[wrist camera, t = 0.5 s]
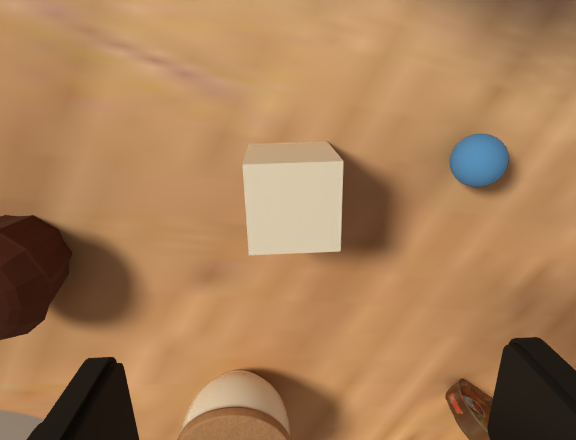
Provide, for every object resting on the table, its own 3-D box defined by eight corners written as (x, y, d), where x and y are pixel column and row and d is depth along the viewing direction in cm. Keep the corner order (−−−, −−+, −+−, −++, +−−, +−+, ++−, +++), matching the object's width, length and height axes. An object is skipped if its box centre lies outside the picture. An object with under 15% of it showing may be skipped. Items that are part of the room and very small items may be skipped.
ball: (444, 130, 37) (469, 139, 32) (494, 129, 37) (526, 137, 32) (438, 179, 38) (461, 194, 34) (485, 178, 39) (514, 192, 34)
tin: (520, 417, 52) (564, 478, 44) (503, 430, 53) (543, 492, 45) (448, 368, 48) (483, 425, 40) (431, 383, 49) (461, 442, 41)
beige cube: (249, 143, 36) (242, 164, 28) (327, 141, 37) (343, 161, 28) (253, 217, 39) (249, 255, 31) (326, 214, 39) (340, 251, 31)
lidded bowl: (170, 392, 48) (142, 480, 37) (238, 335, 45) (228, 413, 35) (241, 440, 51) (234, 531, 41) (308, 390, 48) (318, 475, 38)
